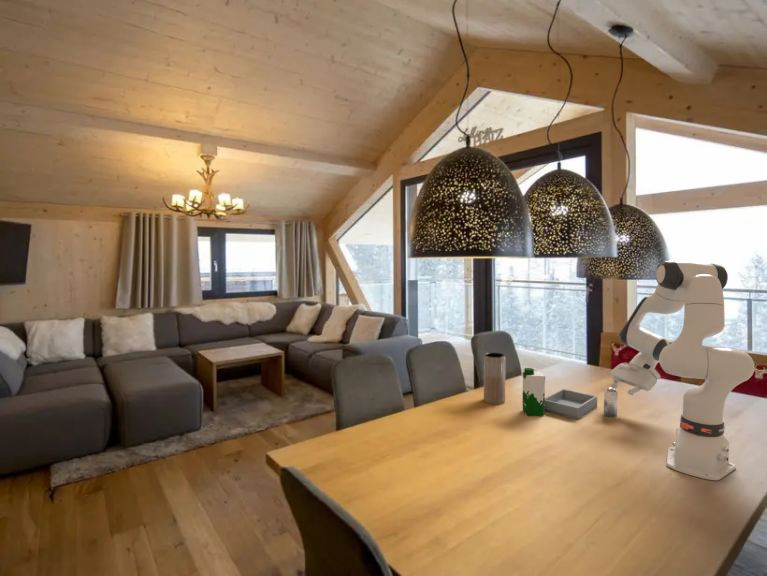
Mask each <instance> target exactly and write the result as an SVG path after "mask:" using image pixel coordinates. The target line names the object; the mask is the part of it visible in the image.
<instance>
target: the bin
mask: <svg viewBox="0 0 767 576" xmlns="http://www.w3.org/2000/svg"><path fill="white" fill-rule="evenodd" d="M597 407H598V396H597V395H593V394H588V393H583V392H580V391H573V390H570V389H564V388H562V389H560V390H558V391H556V392H554V393H552V394H550V395H549V396H545V405H544V412H546V413H551V414H554V415H558V416H562V417H566V418H570V419H574V420H579V419H581V418H582V417H585V416H586V415H587V414H589V413H590V412H591V411H593V410H595V409H596V408H597Z"/></svg>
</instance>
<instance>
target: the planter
mask: <svg viewBox="0 0 767 576" xmlns="http://www.w3.org/2000/svg"><path fill="white" fill-rule="evenodd" d="M506 362H507V361H506V354H505V353H502V352H501V353H500V352H486V353H484V354H483V401H484V402H485V403H487V404H490V405H502V404H504V403H505V402H506Z"/></svg>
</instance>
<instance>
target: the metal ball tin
mask: <svg viewBox="0 0 767 576" xmlns="http://www.w3.org/2000/svg"><path fill="white" fill-rule="evenodd" d="M616 389H617V388H616ZM616 389H614V388H612V387H608V388H605V389H604V391H603V416H604V417H607V418H612V419H613V418H614V419H615V418H617V417H618V400H619V399H618V395H619V391H618V390H616Z"/></svg>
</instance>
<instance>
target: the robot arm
mask: <svg viewBox="0 0 767 576" xmlns="http://www.w3.org/2000/svg"><path fill="white" fill-rule="evenodd" d="M728 277H729V275H728V272H727V269H726V268H725V267H724V266H722V265H720V264H715V263H706V262H700V261H699V262H698V261H693V260H690V261H689V260H678V261H676V260H665V261H663V262H661V263H660V264H659V266H658V267H657V269H656V272H655V279H656V282H657V286H656V288H655V290H654V292H653V293H652V294H651V295H646V296H644V297H643V298H642V299H641V301H639V303H638V304H637V306H636V307H635V309H634V310H633V312H632V313H631V315H630V317H629V318H628V320H627V321H626V323H625V324H624V326H623V327H622V328H621V329H620V331H619V333H618V338H619V340H620V342H621V344H623V345H625V346H628V347H629V348H632V349H634V350H636V351H638V353H637V354H635V356H633V358H632V359H631V360H630V361H629V363H628V362H621V363H619V364H618V365H616V366H615V367H614V368H613V369H612V370H611V371H610V373H609V374H610V377H611V378H612V379H613V381H612V384H611V388H612V389H617V388H618V384H619V383H624V384H626V385H629V386H632V387H633V388H632V389H631V388H630V389H628V390H627V394H629V395H630V396H634V394H636V393H637V392H638V393H639V392H640V391H641V390H642V391H646V392H649V391H652V389H653V388H654V387H655V386H656V384H657V382H658V380H659V379H661V375H660V373H659V372H658V371H657V370H656V367H657V365H658V363H659V365H660V367H661V369H662V371H664V372H665V373H666V374H669V375H672V376H677V377H679V378H680V377H681V378H686V379H687V378H689V379H699V380H705V381H704V382H703V383H702V384H700V385H699V386H697V387H693V388H690V389H688V390H687V391H686V392H685V393H684V394H683V396H682V413H681V415H680V419H679V423H680V424H679V427H677V428H676V429H675V441H673V442H672V446H670V447H667V453H666V467H668V468H669V469H672V470H674V471H676V472H677V471H678V472H680V473H683V474H686V475H690V476H691V477H692V476H693V477H697V478H700V479H704V480H708V481H709V480H710V481H719V480H721V479H723V478H724V477H726V476H727V475H729V474H730V473H732V472H733V471H734V470H736V468H737V467H736V464H734V463H733V462H731V461H730V441H729V440H728V439H727V438H726V437H725V435H724V434H725V422H724V419H723V418H724V410H725V404H726V399H727V397H728V396H729V394H730V393H731V391H733V390H734V389H735V388H736V387H737V386H739V385H740V384H742V383H744V382H746V381H748V380H749V379H750V378H751V377H752V376H753V374H754V372H755V368H756V367H755V362H754V360H753V358H752V357H751V355H749V353H747V352H746V351H742V350H738V349H734V348H730V347H717V346H705V345H703V341H704V340H705V339H708V338H711V337H714V336H717V335H718V334H720V333H722V331H724V328H725V322H726V321H725V318H726V317H725V298H724V291H723V289H724V288H725V287H726V285H727V283H728V279H729V278H728ZM683 307H684V309H683V310H684V312H683V314H684V315H683V325H682V329H681V332H680V333H679V335H678V337H677V338H676V339H675V340H674V341H673V342H671V343H670V341H669V340H668V339H667V338H665V337H664V336H661V335H658V334H656V333H654V332H651V331H649V330H648V329H645V328H643V327H642V326H641V322H642V320H644V317H646V314H649V313H652V314H660V315H670V314H675V313H677V312H679V311H681V310H682V308H683Z"/></svg>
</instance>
